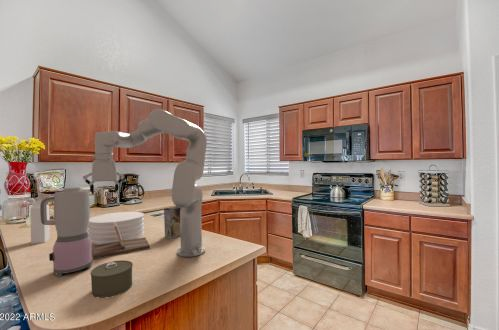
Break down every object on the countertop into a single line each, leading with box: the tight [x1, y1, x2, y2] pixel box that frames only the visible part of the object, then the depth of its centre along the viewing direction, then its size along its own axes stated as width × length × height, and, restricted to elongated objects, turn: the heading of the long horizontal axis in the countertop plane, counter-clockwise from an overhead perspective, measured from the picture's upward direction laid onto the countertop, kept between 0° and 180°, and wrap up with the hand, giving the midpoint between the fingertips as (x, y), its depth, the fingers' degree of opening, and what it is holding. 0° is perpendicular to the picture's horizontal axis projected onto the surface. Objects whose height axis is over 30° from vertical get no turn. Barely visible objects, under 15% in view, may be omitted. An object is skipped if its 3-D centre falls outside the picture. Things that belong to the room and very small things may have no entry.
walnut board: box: [92, 236, 151, 260], centre depth 115 cm, size 16×23×3 cm
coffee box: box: [163, 205, 181, 239], centre depth 136 cm, size 9×6×16 cm
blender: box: [40, 186, 93, 277], centre depth 92 cm, size 16×12×32 cm
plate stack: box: [87, 211, 145, 245], centre depth 136 cm, size 28×28×12 cm
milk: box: [29, 200, 51, 245], centre depth 128 cm, size 6×6×22 cm
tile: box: [114, 222, 124, 246], centre depth 115 cm, size 10×11×1 cm
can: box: [90, 259, 133, 299], centre depth 78 cm, size 12×12×7 cm
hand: (104, 193), depth 115 cm, fingers open, 9 cm apart
